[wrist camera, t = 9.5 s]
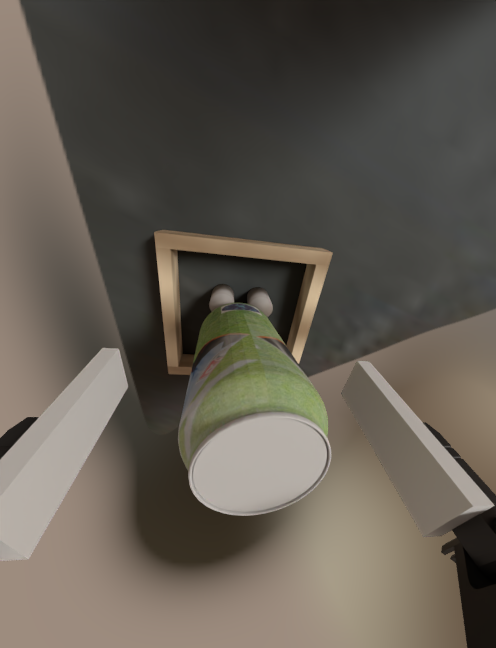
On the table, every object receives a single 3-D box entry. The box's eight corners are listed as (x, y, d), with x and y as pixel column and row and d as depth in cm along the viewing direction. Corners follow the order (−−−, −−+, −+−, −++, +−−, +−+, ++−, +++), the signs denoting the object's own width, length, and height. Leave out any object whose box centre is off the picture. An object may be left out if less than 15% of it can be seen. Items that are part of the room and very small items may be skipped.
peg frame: (162, 229, 16) (151, 232, 13) (322, 248, 17) (335, 253, 15) (173, 361, 22) (166, 377, 20) (289, 366, 23) (295, 382, 21)
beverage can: (196, 351, 18) (147, 536, 8) (212, 273, 15) (167, 417, 5) (261, 363, 20) (293, 538, 9) (290, 294, 16) (392, 446, 6)
